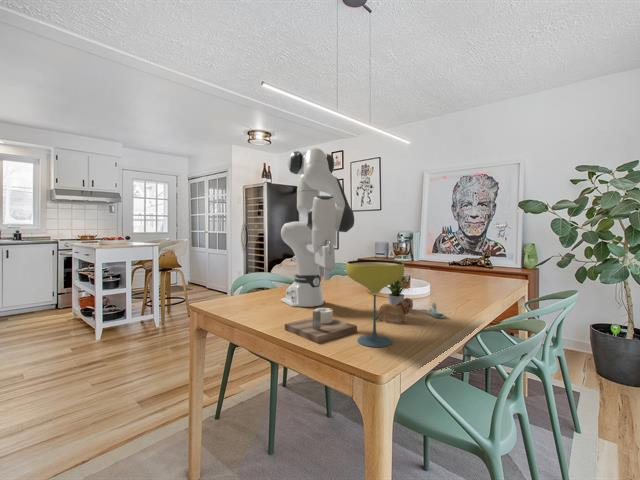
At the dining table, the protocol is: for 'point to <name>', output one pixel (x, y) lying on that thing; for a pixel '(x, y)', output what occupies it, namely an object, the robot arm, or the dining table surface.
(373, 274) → the cocktail glass
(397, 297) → the house plant
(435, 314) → the pacifier
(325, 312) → the white hollow tube
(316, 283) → the robot arm
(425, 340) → the dining table surface
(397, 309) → the lion figurine
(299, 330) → the board
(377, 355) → the dining table surface
